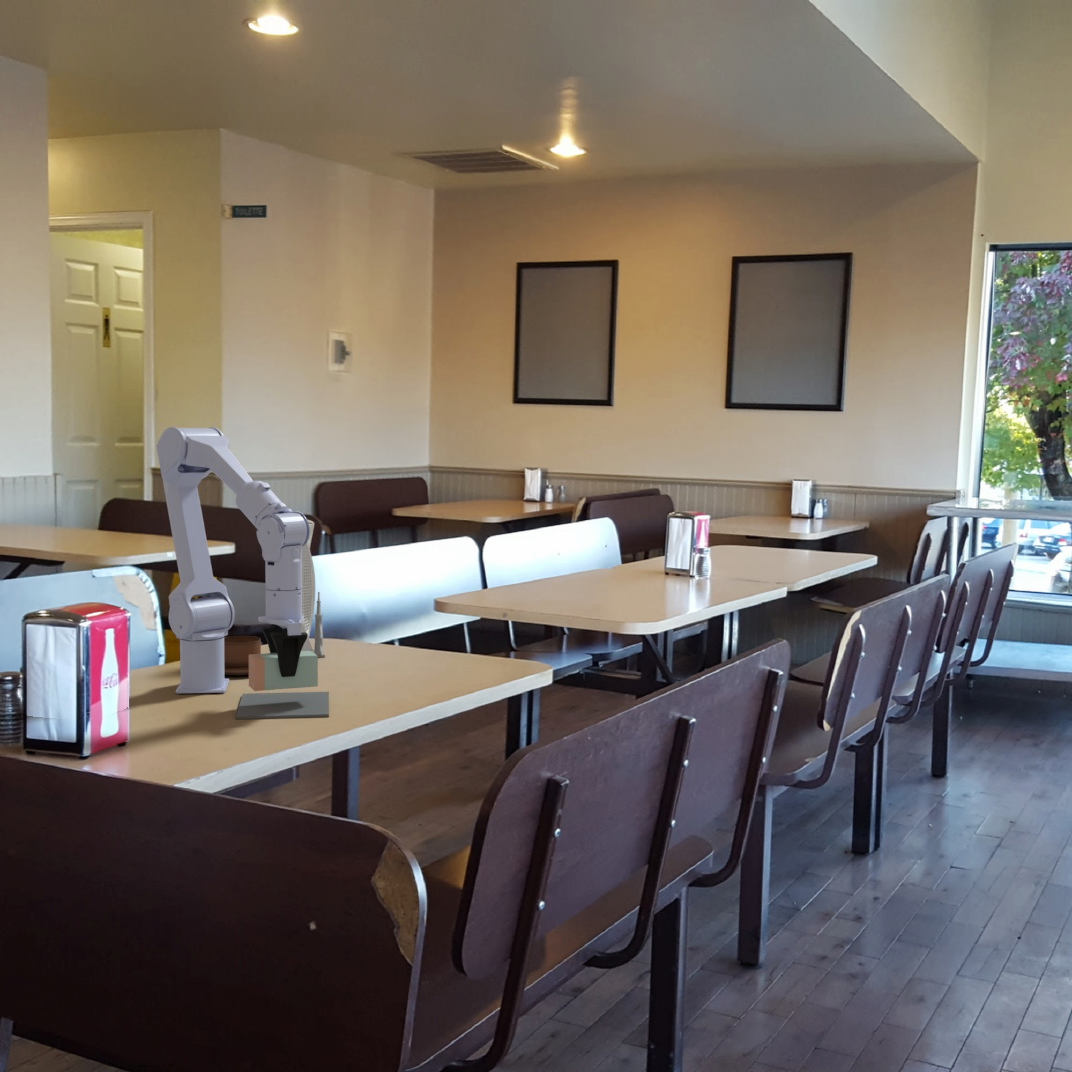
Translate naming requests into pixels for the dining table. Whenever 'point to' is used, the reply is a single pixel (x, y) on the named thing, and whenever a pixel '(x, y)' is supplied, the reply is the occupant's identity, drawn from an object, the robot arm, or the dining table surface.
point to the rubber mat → (283, 705)
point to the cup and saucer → (239, 653)
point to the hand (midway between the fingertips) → (284, 673)
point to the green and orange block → (269, 677)
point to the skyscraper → (310, 600)
